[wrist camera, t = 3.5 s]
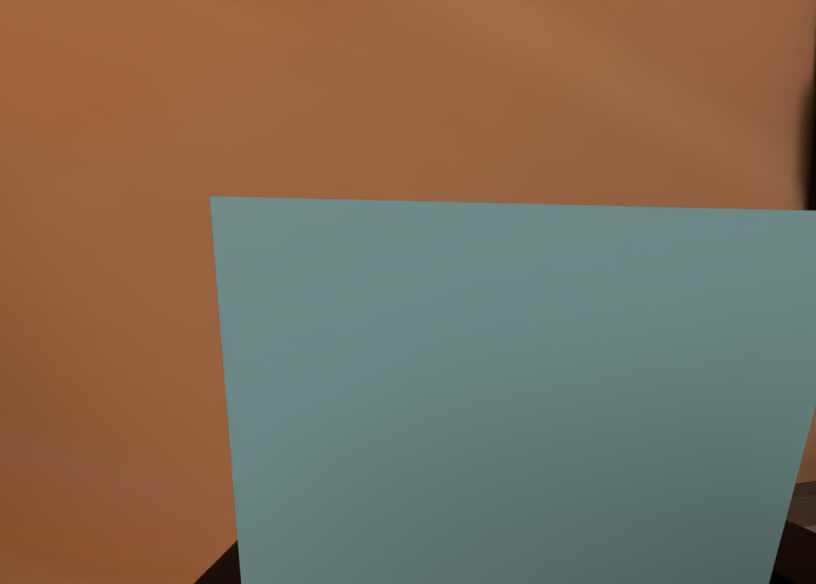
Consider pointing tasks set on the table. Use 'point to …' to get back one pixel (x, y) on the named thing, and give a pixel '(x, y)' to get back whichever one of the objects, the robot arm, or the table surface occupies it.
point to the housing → (513, 389)
